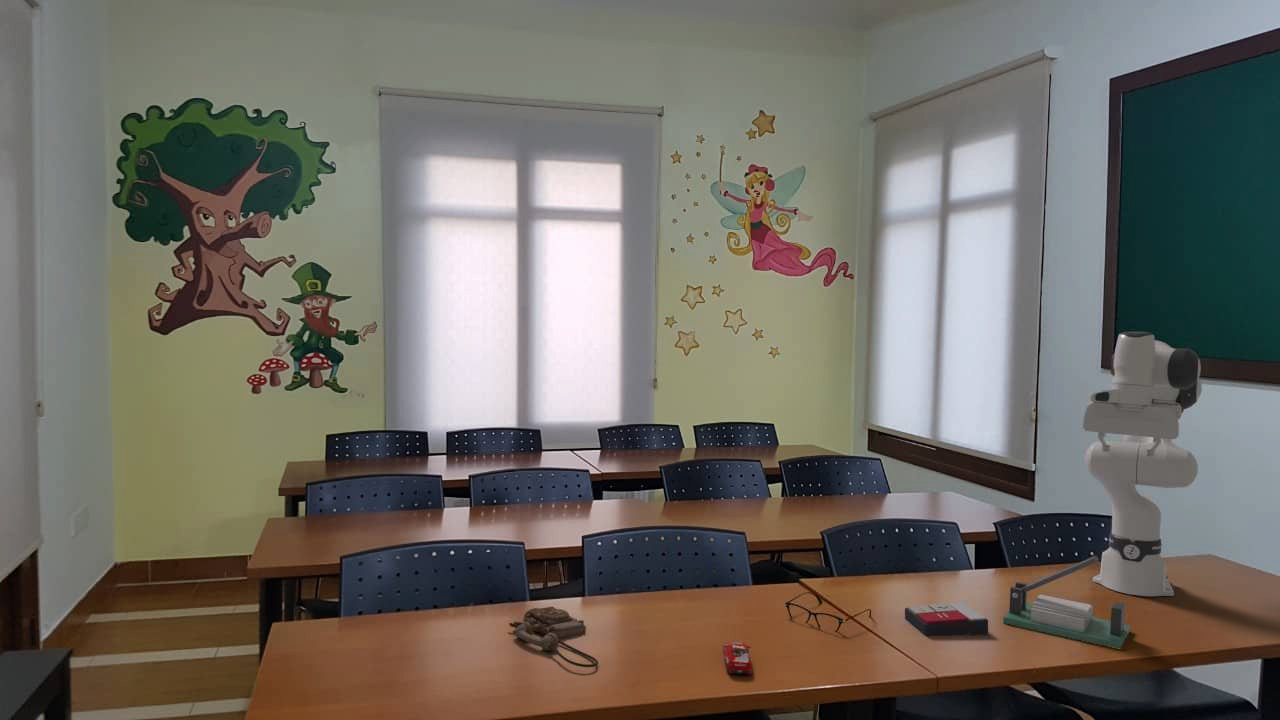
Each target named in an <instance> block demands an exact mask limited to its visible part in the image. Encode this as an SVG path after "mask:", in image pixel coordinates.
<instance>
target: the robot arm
mask: <svg viewBox="0 0 1280 720" xmlns="http://www.w3.org/2000/svg"><path fill="white" fill-rule="evenodd" d="M1110 361H1111V364H1110V375H1111V376H1112V380H1111V389H1110V388H1109V389H1104V390H1101V391H1096V392H1092V393H1091V394H1090V396H1089V399H1090V401H1091V402H1090V403H1088V404H1087V406H1086V407H1085V409H1084V414H1083V417H1082V418H1083V420H1082V429H1083V430H1084V431H1085V432H1092V433H1097V439H1098V440H1099V441H1095V442H1093V443H1092V444H1090V445H1089V447H1087V449H1086V452H1085V454H1084V466H1085V469H1086V470H1087V471H1088V473H1089V475H1091V476H1092V477H1093V478H1094V479H1095V480H1097V481H1098V482H1099V483H1100V484H1101V485H1102V487H1103V488H1104V490H1105V491H1106V493H1107V495H1108V497H1109V501H1110V503H1111V504H1110V505H1111V532H1109V536H1108V545H1109V547H1108V548H1107V549H1106V550H1105V551H1102V555H1101V562H1100V573H1099V574H1097V575H1095V576H1093V577H1092V582H1094V583H1098V585H1099V584H1100V585H1102V586H1103V587H1105V588H1107V589H1108V590H1109V589H1110V590H1111V591H1115V592H1119V593H1123V594H1125V595H1126V594H1127V595H1131V596H1132V595H1134V596H1139V597H1162V596H1164V597H1165V596H1166V597H1174V596H1175V591H1174V589H1173V587H1172V585H1171V582H1170V580H1169V579H1168V578H1169V577H1168V575H1167V574H1166V573H1167V563H1166V562H1165V560H1164V559H1163V558H1162V556H1161V553H1162V547H1163V546H1162V539H1161V538H1160V535H1161V534H1160V533H1161V522H1162V521H1161V519H1162V513H1161V510H1160V507H1159V506H1158V505H1157V504H1156V503H1154V502H1153V501H1151V500H1150V499H1148V498H1146V497H1145V496H1143V495H1141V494H1140V493H1139V492H1138V490H1137V488H1136V486H1138V485H1139V486H1146V487H1147V486H1148V487H1155V488H1164V489H1176V488H1177V489H1179V488H1180V489H1181V488H1187V487H1189V486H1190V485H1191V484H1192V483H1194V481H1195V480H1196V479H1197V476H1198V473H1199V465H1198V462H1197V461H1198V460H1197V459H1196V458H1195V455H1193V453H1192V452H1191V451H1189V450H1186V449H1184V448H1182V447H1180V446H1178V445H1176V444H1175V443H1174V442H1172V440H1176V439H1177V438H1179V436H1180V425H1179V419H1180V418H1181V417H1182V415H1183V414H1182V413H1184V411H1185V410H1187V409H1189V408H1192V407H1193V405H1195V404H1196V403H1197V402H1198V399H1199V398H1200V397H1201V395H1202V391H1203V390H1202V388H1203V384H1202V381H1201V379H1200V375H1201V368H1202V367H1201V360H1200V358H1199V355H1198V354H1197V353H1196V352H1195V351H1194V350H1192V349H1191V348H1190V347H1189V348H1175V347H1174V348H1173V347H1172V346H1171V345H1169V344H1167V343H1166V342H1163V341H1160V340H1155V335H1154V334H1153V333H1151V332H1149V331H1137V330H1136V331H1124V332H1121V333H1119V334H1118V337H1117V341H1116V345H1115V350H1114V353H1113V354H1112V356H1111V360H1110ZM1107 434H1114V435H1123V438H1122V439H1123V441H1122V440H1105V439H1104V438H1106V437H1107Z"/></svg>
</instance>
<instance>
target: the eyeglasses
mask: <svg viewBox="0 0 1280 720" xmlns="http://www.w3.org/2000/svg"><path fill="white" fill-rule="evenodd" d="M805 594H806V595H807V594H811V595H813V596H814V597H815V598H816V600H817V602H818V604H823V603H824V602H823V601H822V599H821V598H820V597H819V595H817V594H815V593H813V592H803V593H801V594H800V595H798V596H796V597H794V598H792V599H790V600H789V601H787V602H785V603H784V605H785V607H786V608H787V613H788V614H789V617H790V618H791V619H794V617H793V616H792V614H791V611H790V606H794V607H798V608H799V609H802V610H804V611H805V612H808V617H807V620H806V621H805V624H806V623H808V622H809V621H810V620H812V616H813V617H814V619H815V622H816V625H817V626H818V628H821V625H820V623H819V621H818V617H817V616H818V615H821V616H823V615H824V616H828V617H831V618H834V619H837V620H838V626H837V629H836V630H834V632H836V633H837V632H839V630H840V627H841V625H842V624H843V623H845V622H848V621H849V620H851V619H853V618H855V617H857V616H859V615H861V614H863V613H865V612H867V611H869V615H868V617H869V618H871V616H872V610H871V609H870V608H866V610H863V611H861V612H858V613H857V614H855V615H852V616H850V617H848V618H846V619H843V618H841V617H839V616H836V615H833V614H830V613H825V612H813V611H810V609H807V608H805V607H804V606H802V605H799V604H798V603H797V604H796V603H792V601H794V600H796V599H797V598H800V597H801V596H803V595H805Z"/></svg>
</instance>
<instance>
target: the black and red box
mask: <svg viewBox="0 0 1280 720" xmlns="http://www.w3.org/2000/svg"><path fill="white" fill-rule="evenodd" d="M904 620H905V621H907V623H909V624H910V625H911V626H913V627H914V628H915V629H916V630H917V631H919V632H920V633H921V634H922V635H924V637H947V636H949V637H950V636H965V635H969V636H988V635H989V620H988V619H987V618H986V617H985V616H984V615H982V614H981V613H979V612H978V611H976V610H975V609H973V608H972V607H970V606H969V605H967V604H966V603H964V602H958V603H957V602H956V603H947V602H946V603H945V602H944V603H932V604H928V605H927V604H920V605H919V604H918V605H908V606H907V607H905V608H904Z"/></svg>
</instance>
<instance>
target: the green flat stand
mask: <svg viewBox="0 0 1280 720" xmlns="http://www.w3.org/2000/svg"><path fill="white" fill-rule="evenodd" d="M1026 585H1028V583H1024V582H1020V581H1016V582H1015V586H1011V587H1009V588H1010V591H1009V592H1010V593H1009V611H1008V612H1007V613H1006V614H1005V615H1004V616H1003V618H1002V619H1003V621H1002V623H1003V624H1004V623H1005V624H1006V625H1008V624H1010V625H1009V626H1013V625H1015V626H1014V627H1017V626H1018V628H1021V627H1024V628H1023V629H1026V628H1028V629H1027V630H1030V629H1032V630H1031V631H1035V630H1037V631H1036V632H1039V631H1041V632H1040V633H1043V632H1046V633H1045V634H1048V633H1050V634H1049V635H1052V634H1054V635H1053V636H1057V635H1059V636H1058V637H1061V636H1063V637H1062V638H1065V637H1069V638H1068V639H1070V638H1074V639H1078V640H1084V641H1087V642H1092V643H1096V644H1101V645H1105V646H1110V647H1115V648H1120V649H1122V648H1123V646H1124V644H1125V642H1126V640H1127V637H1129V634H1130V631H1131V625H1130V624H1126V623H1125V614H1126V613H1125V611H1126V603H1123V602H1119V601H1118V602H1117V601H1115V602H1114V603H1113V604H1112V606H1111V612H1110V620H1107V619H1102V618H1097V617H1093V613H1094V612H1093V610H1094V607H1093V606H1092V604H1089V603H1084V602H1080V601H1074V600H1068V599H1066V598H1065V599H1063V598H1060V597H1059V598H1058V597H1054V596H1049V595H1045V594H1039V595H1038V596H1037V597H1036V598H1035V600H1034V601H1032V604H1030V603H1027V601H1028V592H1026V593H1023V594H1022V591H1023V589H1021V588H1022V587H1024V586H1026ZM1074 639H1073V640H1074ZM1125 639H1126V640H1125ZM1078 640H1077V641H1078ZM1124 641H1125V642H1124ZM1087 642H1086V643H1087ZM1092 643H1091V644H1092ZM1123 643H1124V644H1123ZM1096 644H1095V645H1096ZM1122 645H1123V646H1122ZM1105 646H1104V647H1105ZM1121 647H1122V648H1121Z"/></svg>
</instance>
